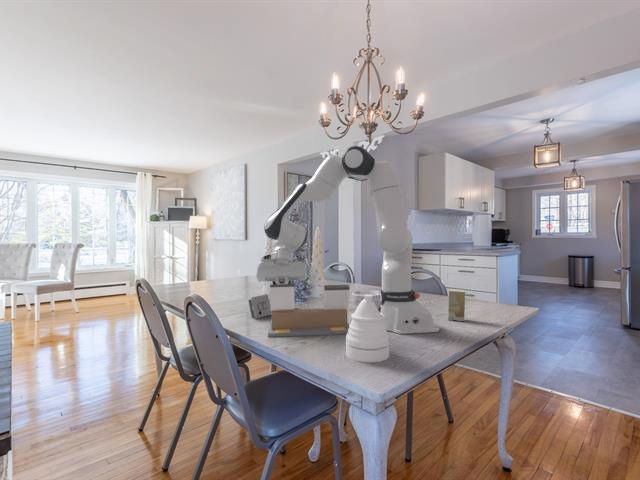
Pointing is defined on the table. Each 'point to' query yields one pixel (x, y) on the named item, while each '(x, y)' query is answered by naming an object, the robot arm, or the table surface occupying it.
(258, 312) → the electrical switch
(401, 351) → the table surface
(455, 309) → the skincare box
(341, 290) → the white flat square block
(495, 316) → the table surface
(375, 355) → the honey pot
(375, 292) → the clear glass bowl
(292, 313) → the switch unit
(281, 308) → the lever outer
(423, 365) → the table surface
